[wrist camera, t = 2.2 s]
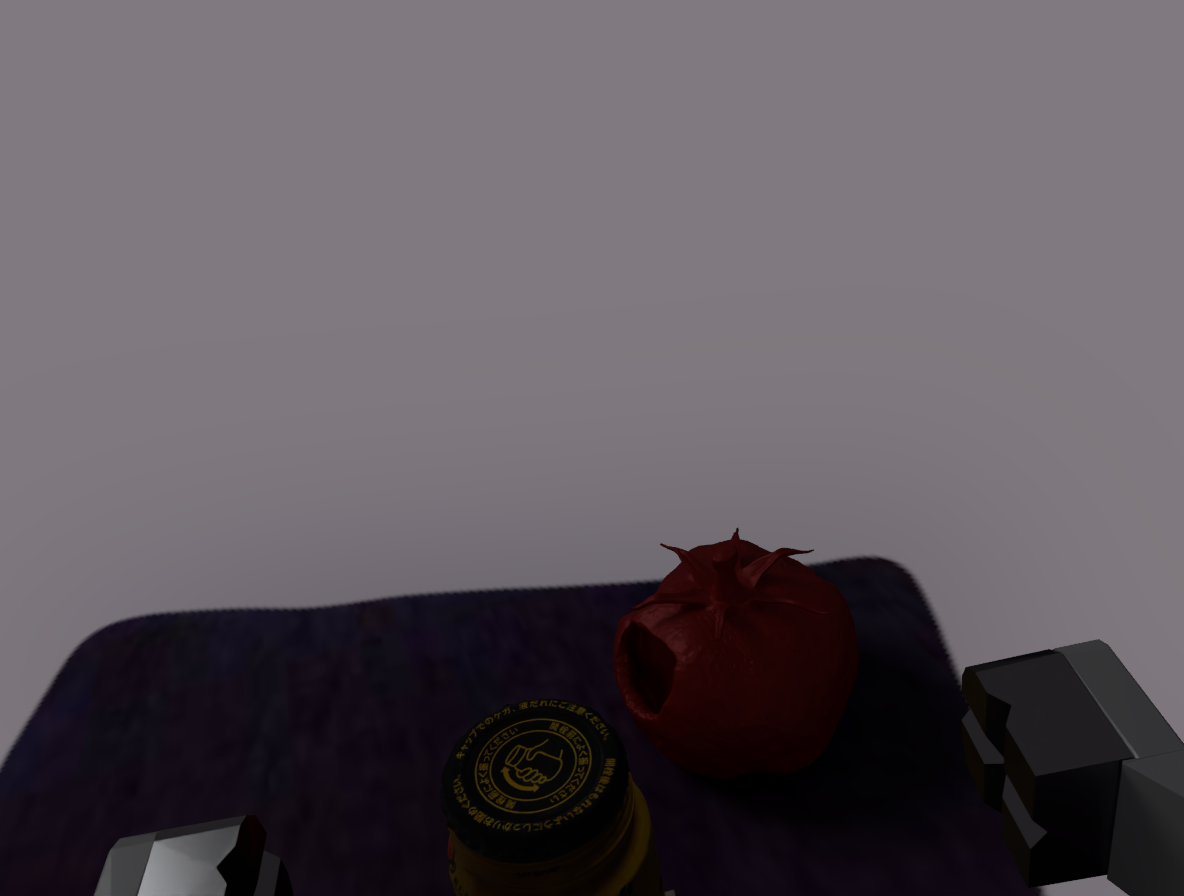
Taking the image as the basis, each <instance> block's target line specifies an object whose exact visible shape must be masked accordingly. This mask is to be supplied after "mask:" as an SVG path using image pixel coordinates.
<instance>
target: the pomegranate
mask: <svg viewBox="0 0 1184 896" xmlns="http://www.w3.org/2000/svg"><path fill="white" fill-rule="evenodd" d="M738 530H739V529H738V528H737V529H736V532H735V533H734V535H733V536H732V539H731V540H727V541H723V542H719V543H716V544H712V545H703V546H697V547H695V548H693V549H691V550H689V551H686V550H683V549H679V548H676V547H670V546H666V545H664V544H660V545H661V546H663V547H665V548H667V549H669V550H672V551H674V552H675V553H676V554H677V555H678V556H679V558H680V560H681V561H682V562H681V563H680V564H679V565H678V566H677V567H676V568H675V569H674V570H673V571H672V572H670V573H669V574H668V575H667V576H666V577H665V578H664V579H663V581H662V582H661V585H660V587H659V589H658V590H657V592H656V593H655V594H654V595H652V596H650V597H648V598H647V599H646V600H645V601H644V602H643V603H641V604H639V605H637V606H634V607H631V608H630V609H632V610H637V611H635V612H631V613H630V614H627V615H625V616H624V617H623V618H621V620H620V621H619V624H618V628H617V633H616V636H615V641H614V651H613V666H614V672H615V677H616V680H617V685H618V687H619V691H620V693H621V696H622V698H623V701H624V703H625V705H626V707H627V710H628V711H629V714H630V715H631V717H632V719H633V720H634V722H635V723H636V725H637V726H638V727H639V729H640V730H641V731H642V732H643V733H644V734H645V735H646V737H647V738H648V739H649V740H650V741H651V742H652V743H653V744H654V745H655V746H656V747H657V748H658V750H659V751H660V752H661V753H662V754H664V755H665V756H666V757H667V758H669V759H670V760H671V761H673V762H674V763H675V764H676V765H678V766H680V767H681V768H683V769H684V770H686V771H688V772H692V773H698V774H700V775H704V776H708V777H713V778H718V779H728V778H732V777H735V776H739V775H741V774H744V773H749V772H753V771H758V770H761V771H767V772H771V773H778V774H786V773H790V772H793V771H796V770H800V769H802V768H805V767H807V766H808V765H810V764H811V763H813V761H814V760H815V759H817V758H818V757H819V756H820V755H821V754H822V752H823V751H824V749H825V748H826V747H827V745H828V742H829V741H830V739H831V738H832V736H833V734H834V732H835V730H836V727H837V725H838V723H839V720H840V717H841V716H842V715H843V712H844V709H845V707H846V704H847V700H848V697H849V694H850V692H851V689H852V687H853V685H854V682H855V679H856V676H857V673H858V666H859V661H860V659H859V649H858V648H859V645H858V639H857V636H856V631H855V626H854V621H853V617H852V615H851V613H850V609H849V605H848V603H847V601H846V599H845V598H844V596H843V595H842V594H841V592H840V591H839V589H838V588H837V587H836V586H835V585H834V584H832V583H829V582H827V581H825V580H824V579H822V578H820V577H818V576H817V574H816V572H815V571H814V570H812V569H811V568H808V567H806V566H804V565H803V564H802V563H800V562H799V561H797V560H794V559H792V558H790V557H788V556H790V555H795V554H803V553H809V552H812V551H814V550H809V551H800V550H796V549H790V548H780V549H778V550H776V551H775V552H769V551H767V550H765V549H763V548H761V547H759V546H757V545H755V544H753V543H751V542H749V541H745V540H740V538H739V535H738Z"/></svg>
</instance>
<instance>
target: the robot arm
mask: <svg viewBox="0 0 1184 896" xmlns="http://www.w3.org/2000/svg"><path fill="white" fill-rule="evenodd" d="M962 693H963V695H964V697H965V699H966V701H967V703H968V704H969V706H970V708H971V709H970V710H969V711H968V713H967V714H966V715H965V716H964V718H963V719H962V742H963V747H964V751H965V756H966V761H967V765H968V768H969V770H970V773H971V775H972V778H973V781H974V783H975V785H976V787H977V789H978V791H979V793H980V796H981V798H982V800H983V802H984V803H986V804H987V805H989V806H990V807H992V808H994V809H995V810H997V811H999V812H1000V813H1002V823H1001V837H1002V839H1003V841H1004V843H1005V845H1006V847H1007V848H1008V850H1009V852H1010V854H1011V856H1012V858H1013V860H1014V862H1015V864H1016V866H1017V868H1018V870H1019V871H1020V873H1021V875H1022V877H1023V879H1024V881H1025V883H1026V885H1027V887H1028V888H1033V887H1038V886H1044V885H1050V884H1055V883H1062V882H1067V881H1073V880H1079V879H1085V878H1091V877H1096V876H1102V875H1107V879H1108V880H1109V881H1111V882H1112V883H1114V884H1115V885H1116V886H1117V887H1119V888H1120V889H1121V890H1123V891H1124V892H1125V893H1127V894H1128V895H1130V896H1184V743H1183V742H1182V741H1181V739H1180V738H1179V737H1178V736H1177V734H1176V733H1175V732H1174V730H1173V729H1172V728H1171V726H1170V725H1169V724H1168V723H1167V721H1166V720H1165V719H1164V717H1163V716H1162V715H1161V713H1160V712H1159V711H1158V710H1157V708H1156V707H1155V706H1154V704H1153V703H1152V702H1151V700H1150V699H1149V698H1148V696H1147V695H1146V694H1145V692H1144V691H1143V690H1142V689H1141V687H1140V686H1139V685H1138V683H1137V682H1136V681H1135V679H1134V678H1133V677H1132V675H1131V674H1130V673H1129V672H1128V670H1127V669H1126V668H1125V666H1124V665H1123V664H1122V662H1121V661H1120V660H1119V659H1118V657H1117V656H1116V655H1115V653H1114V652H1113V651H1112V649H1111V648H1110V647H1109V646H1108V645H1107V644H1106V643H1104V642H1102V641H1101V640H1099V639H1098V640H1093V641H1088V642H1083V643H1079V644H1074V645H1070V646H1064V647H1060V648H1055V649H1053V650H1050V649H1048V650H1043V651H1039V652H1034V653H1029V654H1025V655H1020V656H1016V657H1011V658H1006V659H1002V660H998V661H992V662H988V663H983V664H979V665H974V666H969V667H966V668H965V670H964V673H963V675H962ZM266 836H267V833H266V831H265V830H264V828H263V826H262V825H261V823H260V821H259V820H258V818H257V817H256V815H245V816H240V817H234V818H229V819H223V820H217V821H212V822H206V823H200V824H195V825H189V826H183V827H178V828H172V829H167V830H163V831H158V832H153V833H148V834H142V835H137V836H131V837H126V838H120V839H119V841H118V842H117V843H116V844H115V845H114V846H113V848H112V849H111V850H110V852H109V854H108V857H107V859H106V862H105V865H104V868H103V871H102V874H101V877H100V879H99V882H98V885H97V888H96V891H95V894H94V896H293V890H292V886H291V883H290V879H289V875H288V872H287V870H286V868H285V866H284V864H283V862H282V860H281V859H280V858H278V857H276V856H274V855H272V854H270V853H268V852H266V851H264V846H265V841H266Z"/></svg>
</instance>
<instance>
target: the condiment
mask: <svg viewBox="0 0 1184 896" xmlns="http://www.w3.org/2000/svg"><path fill="white" fill-rule="evenodd" d="M626 754H627V753H626V751H625V748H624V745H623V744H622V743H621V740H620V738H619V736H618V734H617V732H616V731H615V729H614V728H613V727H611V726H610V725H609V724H608V723H606V722H605V721H604V720H603V719H602V717H601V716H600V714H599V713H598V712H597V711H595V710H594V709H592V708H590V707H587V706H584V705H581V704H579V703H575V702H571V701H566V700H559V699H536V700H532V701H523V702H520V703H517V704H506V705H505V706H504V707H503V708H502V709H500V710H499V711H496V712H494V713H491V714H489V715H487V716H486V717H484V718H482V719H481V720H480V721H479V722H478V723H476V724H475V725H474V726H473V727H472V728H471V729H469V731H468V732H467V733H466V734H465V735H463V736H462V737H461V738H460V739H459V740H458V741H457V743H456V745H455V747H454V749H453V750H452V752H451V755H450V757H449V758H448V760H447V762H446V764H445V766H444V769H443V771H442V777H441V782H442V786H441V790H440V793H441V800H442V806H441V809H442V812H443V814H444V815H445V817H446V824H447V826H448V829H449V832H450V837H449V842H448V859H449V874H450V878H451V881H452V883H453V886H454V891H455V893H456V896H675V892H674V890H671V891H668V892H664V886H663V883H662V878H661V875H660V869H659V861H658V856H657V853H656V845H655V834H654V827H653V824H652V822H651V818H650V814H649V808H648V807H647V803H646V800H645V798H644V797H643V795H642V793H641V791H640V790H639V788H638V787H637V786H636V784H635V783H634V782H633V780H632V776H631V773H630V769H629V767H628V761H627V759H626Z"/></svg>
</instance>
